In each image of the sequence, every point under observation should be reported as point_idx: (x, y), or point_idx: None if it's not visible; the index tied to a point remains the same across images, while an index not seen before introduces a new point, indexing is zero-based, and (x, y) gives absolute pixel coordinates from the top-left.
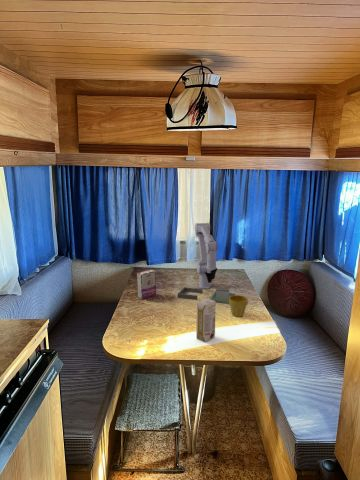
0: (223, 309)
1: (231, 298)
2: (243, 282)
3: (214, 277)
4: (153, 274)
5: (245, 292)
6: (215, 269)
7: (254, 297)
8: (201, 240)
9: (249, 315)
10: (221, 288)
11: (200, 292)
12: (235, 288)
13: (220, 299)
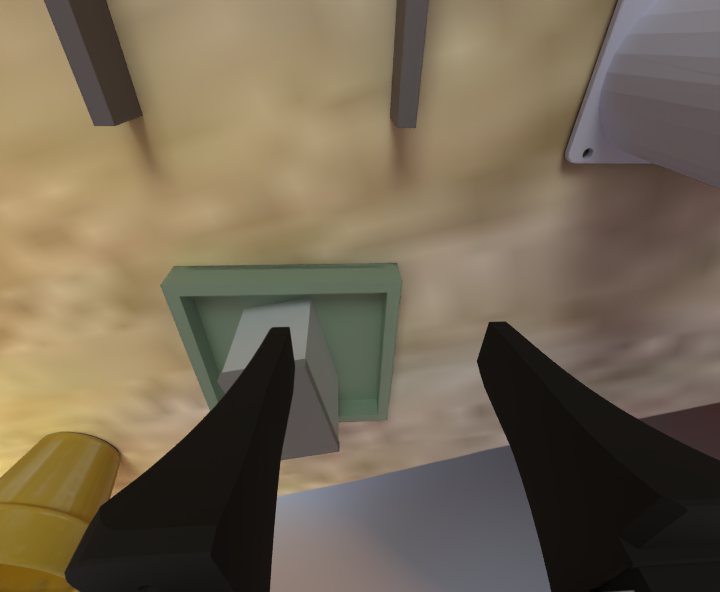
0: (90, 385)
1: (4, 539)
2: (709, 389)
3: (490, 392)
4: None
5: (481, 427)
6: (563, 586)
7: (399, 467)
8: None
9: (120, 484)
10: (299, 409)
11: (393, 89)
12: (568, 371)
13: (198, 366)
